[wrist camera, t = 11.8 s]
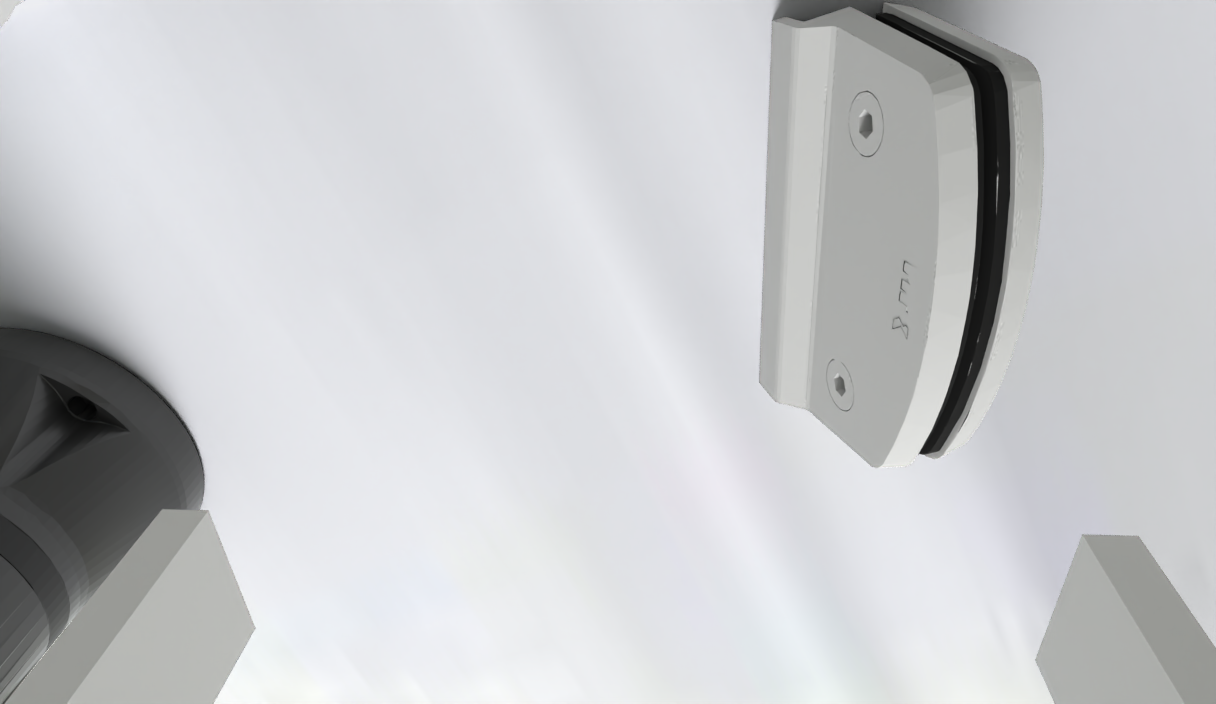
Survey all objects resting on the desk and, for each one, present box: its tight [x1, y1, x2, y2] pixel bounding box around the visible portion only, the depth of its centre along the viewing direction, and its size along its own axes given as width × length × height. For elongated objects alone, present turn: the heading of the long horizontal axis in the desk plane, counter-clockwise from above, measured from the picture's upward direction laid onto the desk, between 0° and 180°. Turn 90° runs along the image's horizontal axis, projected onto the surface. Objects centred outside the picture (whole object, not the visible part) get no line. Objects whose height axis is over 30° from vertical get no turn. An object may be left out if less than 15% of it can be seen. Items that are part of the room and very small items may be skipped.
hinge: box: [759, 2, 1044, 468], centre depth 29 cm, size 17×5×10 cm, turn 4°
